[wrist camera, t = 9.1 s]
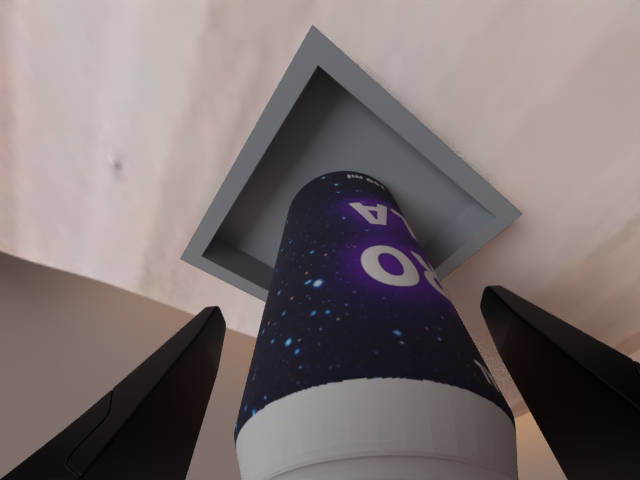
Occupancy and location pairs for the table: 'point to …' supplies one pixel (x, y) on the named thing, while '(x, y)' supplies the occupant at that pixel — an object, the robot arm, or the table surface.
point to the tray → (340, 155)
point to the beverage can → (365, 355)
